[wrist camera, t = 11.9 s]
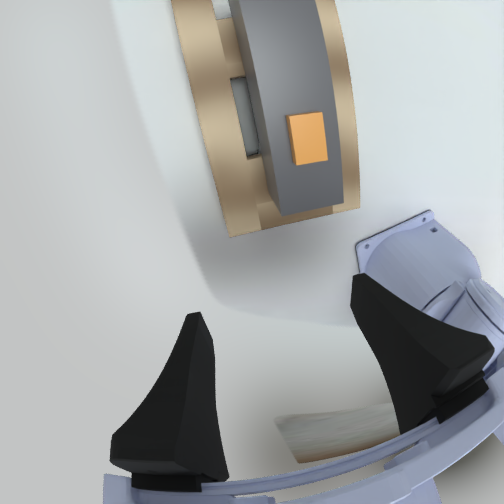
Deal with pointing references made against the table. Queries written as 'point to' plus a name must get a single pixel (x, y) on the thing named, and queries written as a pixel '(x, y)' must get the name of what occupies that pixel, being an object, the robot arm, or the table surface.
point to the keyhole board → (227, 123)
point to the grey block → (291, 101)
